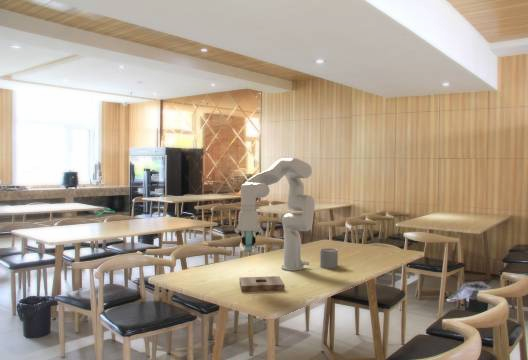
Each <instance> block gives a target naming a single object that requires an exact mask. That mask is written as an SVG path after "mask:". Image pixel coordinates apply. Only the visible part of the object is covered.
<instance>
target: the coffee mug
mask: <svg viewBox="0 0 528 360" xmlns="http://www.w3.org/2000/svg"><path fill="white" fill-rule="evenodd" d="M338 251H339V250H338V248H332V247H331V248H330V247H329V248H328V247H326V248H320V250H319V253H320V254H319V256H320V257H319V260H320V261H319V263H320V264H319V267H320V268H322V269H325V270H327V269H328V270H333V269H338V267H339V265H338V263H339V262H338V260H339V256H338V254H339V253H338Z"/></svg>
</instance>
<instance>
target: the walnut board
mask: <svg viewBox="0 0 528 360" xmlns="http://www.w3.org/2000/svg"><path fill="white" fill-rule="evenodd" d="M239 286H240V291H241V293H259V292H260V293H261V292H262V293H263V292H284V291H285V283H284V281H283V280H282V279H281V276H279V275H277V276H242V277H241V276H240V277H239Z"/></svg>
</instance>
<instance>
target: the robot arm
mask: <svg viewBox="0 0 528 360" xmlns="http://www.w3.org/2000/svg"><path fill="white" fill-rule="evenodd" d="M312 172H313V170H312V166H311V165H310V164H309V163H308V162H306V161H304V160H302V159H299V158H297V157H283V158H280V159H277V160H276V161H275V162H274V163H273V164H272V165H271V166H270V167H269V168H268V169H267V170H264V171H262V172H260V173H257V174H255V175H253V176H252V177H250V178H248V180H247V181H246V182H245V183H242V184H241V185H240V211H239V212H238V223H237V226H236V227H235V229H234V232H235V233H236V234H238V236H240V237H241V244H242V247H243V246H244V247H245V231H253V246H255V244H256V243H257V241H256V238H257V237H258V235H260V234H261V233H263V229H262V227H261V225H260V223H259V222H260V220H259V219H260V218H259V213H258V209H260V206H259V205H257V198H259V199H260V198H261V199H262V198H266V197H268V196H269V193H270V192H271V191H270V187H269V186H270V185H274V184H277V183H278V182H279V181H281V180H282V178H283V177H286V179H287V182H288V185H289V188H288V196H287V209H288V210H289V211H292V212H290V213H286V214H284V215H283V217H282V219H281V222H282V223H281V224H282V228H283V265H281V269H282V270H284V271H291V272H292V271H293V272H294V271H302V270H304V266H310V261H306V260H305V261H303V260H302V240H301V234H300V232H309V231H310V230H311V229H312V228H313V227H312V226H313V222H314V214H315V207H316V205H315V203H316V202H315V199H314V198H313V196H312V195H309V194H305V193H304V192H305V185H304V183H303V181H302V179H309V178H310V177H311V176H312ZM295 212H296V213H295ZM297 212H302V213H297ZM299 231H300V232H299Z"/></svg>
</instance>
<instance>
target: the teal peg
mask: <svg viewBox="0 0 528 360" xmlns="http://www.w3.org/2000/svg"><path fill="white" fill-rule="evenodd" d="M244 237H245V245H244V247H245V249H244V250H245V252H246V253H252V252H253V246H254V245H253V231H245V233H244Z"/></svg>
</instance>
